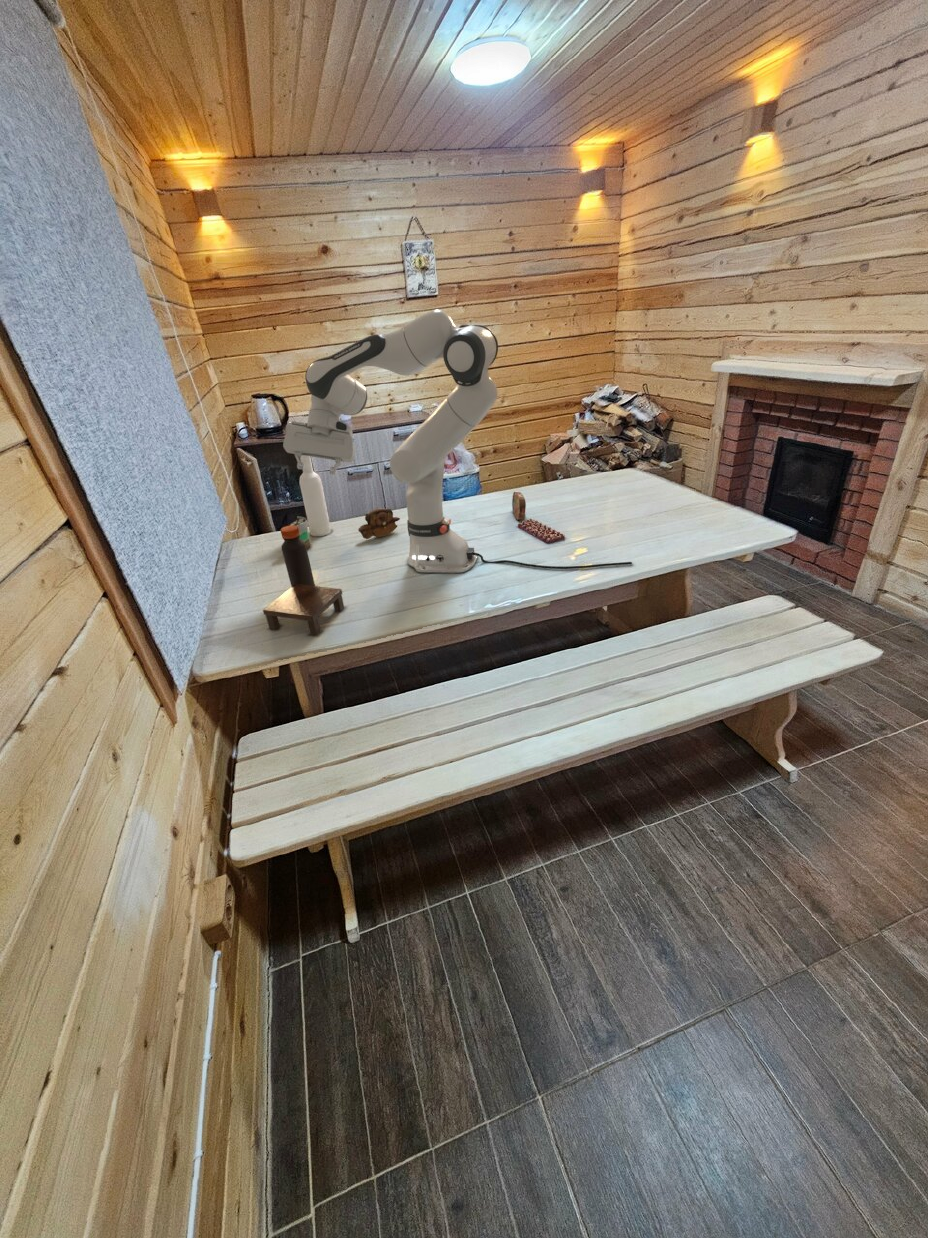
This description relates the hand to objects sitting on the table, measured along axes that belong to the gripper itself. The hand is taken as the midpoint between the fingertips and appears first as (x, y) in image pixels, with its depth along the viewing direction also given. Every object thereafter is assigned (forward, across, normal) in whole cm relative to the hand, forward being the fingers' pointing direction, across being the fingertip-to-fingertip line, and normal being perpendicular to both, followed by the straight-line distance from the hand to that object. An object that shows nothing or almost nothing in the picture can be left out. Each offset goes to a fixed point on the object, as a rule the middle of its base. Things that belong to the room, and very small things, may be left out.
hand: (316, 471), depth 153 cm
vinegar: (+35, 0, +7) cm, 36 cm away
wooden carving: (+9, +19, +37) cm, 43 cm away
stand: (+44, +5, -8) cm, 44 cm away
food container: (+18, -8, +34) cm, 39 cm away
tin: (-8, +70, +41) cm, 81 cm away
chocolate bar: (+2, +75, +26) cm, 79 cm away
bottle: (+9, -5, +46) cm, 47 cm away
